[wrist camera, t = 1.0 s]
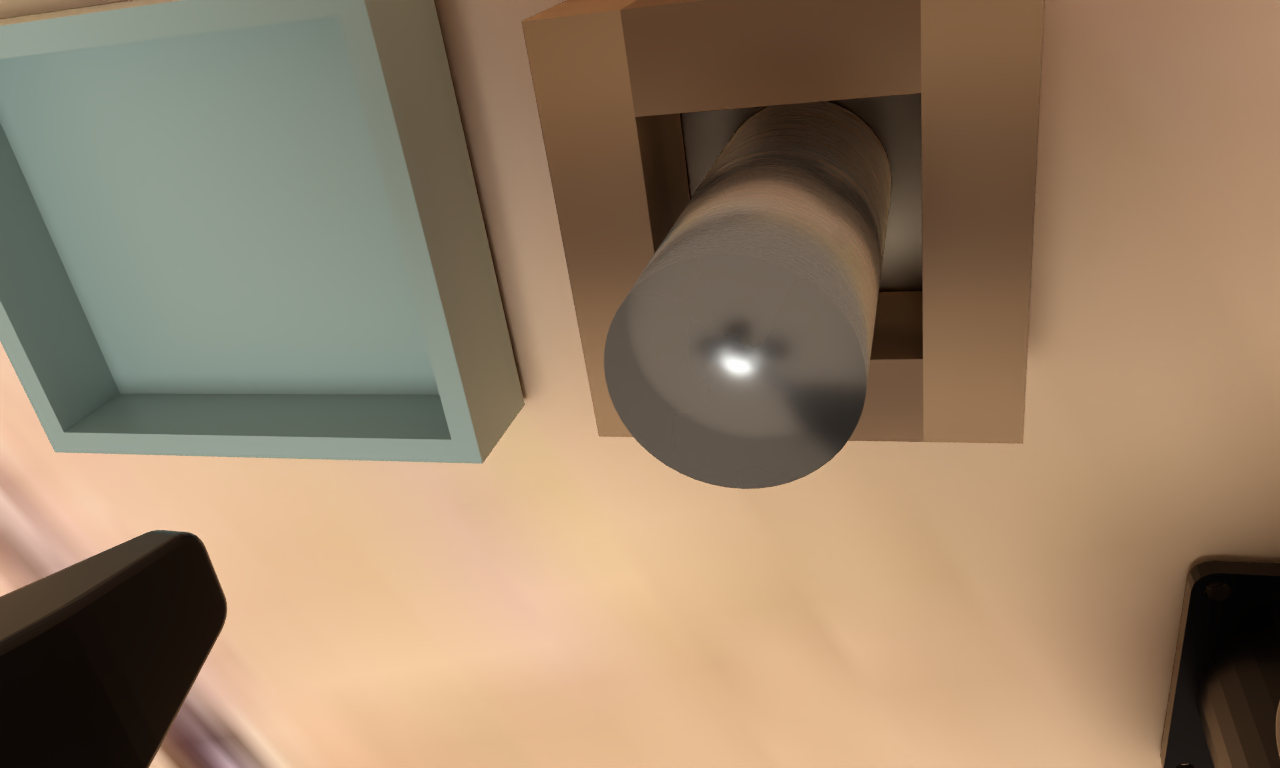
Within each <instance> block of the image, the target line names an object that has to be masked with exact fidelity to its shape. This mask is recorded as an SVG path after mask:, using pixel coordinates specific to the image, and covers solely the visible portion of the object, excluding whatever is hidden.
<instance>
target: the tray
mask: <svg viewBox="0 0 1280 768" xmlns="http://www.w3.org/2000/svg"><path fill="white" fill-rule="evenodd" d="M0 341H1V343H2V345H3V347H4V349H5V351H6V353H7V355H8V358H9V360H10V362H11V364H12V366H13V368H14V370H15V372H16V374H17V376H18V378H19V380H20V382H21V384H22V386H23V388H24V390H25V392H26V394H27V396H28V398H29V400H30V402H31V404H32V406H33V408H34V410H35V412H36V414H37V416H38V418H39V420H40V422H41V425H42V427H43V429H44V431H45V433H46V435H47V437H48V439H49V441H50V443H51V445H52V447H53V449H54V451H55V452H66V453H104V454H142V455H180V456H218V457H256V458H294V459H332V460H370V461H408V462H446V463H483V462H484V461H485V459H486V458H487V456H488V455H489V454H490V452H491V451H492V449H493V448H494V447H495V445H496V444H497V442H498V441H499V440H500V438H501V437H502V435H503V434H504V433H505V431H506V430H507V428H508V427H509V426H510V424H511V423H512V421H513V420H514V419H515V417H516V416H517V414H518V413H519V412H520V410H521V409H522V407H523V406H524V405H525V404H524V400H523V395H522V391H521V386H520V382H519V377H518V373H517V368H516V364H515V360H514V355H513V351H512V346H511V342H510V337H509V333H508V328H507V324H506V319H505V315H504V310H503V306H502V301H501V297H500V293H499V288H498V284H497V279H496V275H495V270H494V266H493V261H492V257H491V252H490V248H489V243H488V239H487V234H486V230H485V226H484V221H483V217H482V212H481V208H480V203H479V199H478V194H477V190H476V185H475V181H474V176H473V172H472V167H471V163H470V159H469V154H468V150H467V145H466V141H465V136H464V132H463V127H462V123H461V118H460V114H459V109H458V105H457V100H456V96H455V92H454V87H453V83H452V78H451V74H450V69H449V65H448V60H447V56H446V51H445V47H444V42H443V38H442V33H441V29H440V25H439V20H438V16H437V11H436V7H435V2H434V0H132V1H125V2H118V3H111V4H104V5H97V6H90V7H83V8H76V9H69V10H62V11H55V12H48V13H41V14H34V15H27V16H20V17H13V18H6V19H0Z"/></svg>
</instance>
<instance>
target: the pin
mask: <svg viewBox="0 0 1280 768" xmlns="http://www.w3.org/2000/svg"><path fill="white" fill-rule="evenodd" d="M891 182H892V181H891V170H890V166H889V161H888V158H887V155H886V153H885V150H884V148H883V146H882V144H881V142H880V141H879V139H878V137H877V136H876V135H875V133H874V132H873V131H872V129H871V128H870V127H869V126H868V125H867V124H866V123H865V122H864V121H863V120H861V119H860V118H859V117H858V116H856V115H855V114H854V113H852V112H850V111H848V110H846V109H845V108H843V107H840V106H838V105H835V104H833V103H829V102H825V101H820V102H808V103H796V104H784V105H772V106H769V107H767V108H765V109H763V110H761V111H759V112H758V113H756V114H754V115H753V116H752V117H750V118H749V119H748V120H747V121H746V122H744V123H743V124H742V126H741V127H740V128H739V129H738V130H737V131H736V132H735V134H734V135H733V136H732V138H731V139H730V141H729V142H728V144H727V145H726V147H725V148H724V150H723V151H722V153H721V154H720V156H719V157H718V159H717V160H716V162H715V163H714V165H713V166H712V168H711V169H710V171H709V172H708V174H707V175H706V177H705V178H704V180H703V181H702V183H701V184H700V186H699V187H698V189H697V191H696V192H695V194H694V195H693V197H692V198H691V200H690V201H689V203H688V204H687V206H686V207H685V209H684V210H683V212H682V213H681V215H680V216H679V218H678V219H677V221H676V222H675V224H674V225H673V227H672V228H671V230H670V231H669V233H668V234H667V236H666V237H665V239H664V240H663V242H662V243H661V245H660V246H659V248H658V249H657V251H656V252H655V254H654V255H653V257H652V258H651V260H650V261H649V263H648V264H647V266H646V267H645V269H644V270H643V272H642V273H641V275H640V276H639V278H638V279H637V281H636V282H635V284H634V286H633V287H632V289H631V290H630V292H629V293H628V295H627V296H626V298H625V299H624V301H623V302H622V304H621V305H620V307H619V308H618V310H617V312H616V314H615V316H614V318H613V320H612V322H611V325H610V328H609V331H608V334H607V338H606V343H605V349H604V371H605V379H606V384H607V388H608V392H609V395H610V397H611V400H612V403H613V405H614V408H615V409H616V411H617V413H618V415H619V417H620V419H621V420H622V422H623V423H624V425H625V426H626V428H627V429H628V430H629V432H630V433H631V434H632V436H633V437H634V438H635V439H636V440H637V441H638V442H639V443H640V444H641V446H643V447H644V448H645V449H646V450H647V451H648V452H649V453H651V454H652V455H653V456H654V457H655V458H657V459H658V460H660V461H661V462H663V463H664V464H665V465H667V466H669V467H671V468H672V469H674V470H676V471H678V472H679V473H682V474H684V475H686V476H689V477H691V478H693V479H696V480H699V481H702V482H705V483H709V484H713V485H718V486H723V487H729V488H741V489H750V488H765V487H772V486H777V485H781V484H785V483H789V482H792V481H794V480H797V479H799V478H802V477H804V476H806V475H808V474H810V473H812V472H814V471H815V470H817V469H819V468H820V467H822V466H823V465H824V464H826V463H827V462H828V461H830V460H831V459H832V458H833V457H834V456H835V455H836V454H837V453H838V452H839V451H840V450H841V449H842V448H843V446H844V445H845V444H846V442H847V441H848V440H849V439H850V437H851V435H852V434H853V432H854V430H855V428H856V426H857V424H858V422H859V419H860V416H861V414H862V411H863V407H864V402H865V397H866V390H867V382H868V374H869V366H870V358H871V350H872V341H873V333H874V325H875V317H876V309H877V301H878V293H879V285H880V277H881V269H882V261H883V253H884V245H885V237H886V229H887V221H888V213H889V205H890V197H891Z"/></svg>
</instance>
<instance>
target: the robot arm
mask: <svg viewBox="0 0 1280 768" xmlns="http://www.w3.org/2000/svg"><path fill="white" fill-rule="evenodd" d="M1216 582H1221V583H1225V584H1224V585H1223V586H1221V587H1219V588H1214V589H1210V588H1206V586H1208V585H1209V584H1211V583H1216ZM226 615H227V602H226V598H225V595H224V593H223V590H222V588H221V585H220V583H219V580H218V578H217V575H216V573H215V570H214V568H213V565H212V563H211V560H210V558H209V555H208V552H207V550H206V547H205V546H204V544H203V542H202V541H201V540H200V539H199V538H198V537H197V536H196V535H194V534H191V533H188V532H178V531H166V530H156V531H151V532H148V533H145V534H143V535H140V536H138V537H136V538H134V539H131V540H129V541H127V542H124V543H122V544H120V545H118V546H115V547H113V548H111V549H109V550H106V551H104V552H102V553H99V554H97V555H95V556H93V557H90V558H88V559H86V560H83V561H81V562H79V563H77V564H74V565H72V566H70V567H67V568H65V569H63V570H61V571H58V572H56V573H54V574H51V575H49V576H47V577H45V578H42V579H40V580H38V581H35V582H33V583H31V584H29V585H26V586H24V587H22V588H19V589H17V590H15V591H13V592H10V593H8V594H6V595H3V596H1V597H0V768H149V766H150V764H151V762H152V761H153V759H154V757H155V755H156V753H157V752H158V750H159V748H160V746H161V744H162V742H163V740H164V739H165V737H166V735H167V733H168V731H169V729H170V727H171V725H172V723H173V721H174V720H175V718H176V716H177V714H178V712H179V710H180V708H181V706H182V704H183V702H184V701H185V699H186V697H187V695H188V693H189V691H190V689H191V687H192V685H193V683H194V682H195V680H196V678H197V676H198V674H199V672H200V670H201V668H202V666H203V664H204V663H205V661H206V659H207V657H208V655H209V653H210V651H211V649H212V647H213V646H214V644H215V642H216V640H217V638H218V636H219V634H220V632H221V630H222V628H223V626H224V623H225V620H226ZM1160 757H1161V762H1162V767H1163V768H1280V564H1268V563H1246V562H1225V561H1211V562H1205V563H1202V564H1199V565H1197V566H1196V567H1194V568H1193V569H1192V570H1191V571H1190V573H1189V575H1188V577H1187V582H1186V589H1185V595H1184V602H1183V608H1182V615H1181V622H1180V628H1179V635H1178V641H1177V648H1176V655H1175V661H1174V668H1173V674H1172V681H1171V688H1170V694H1169V701H1168V707H1167V714H1166V721H1165V727H1164V734H1163V740H1162V747H1161V754H1160ZM1181 764H1189V765H1181Z"/></svg>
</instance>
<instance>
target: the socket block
mask: <svg viewBox="0 0 1280 768" xmlns="http://www.w3.org/2000/svg"><path fill="white" fill-rule="evenodd" d="M1043 21H1044V0H567V1H565V2H562V3H560V4H558V5H556V6H554V7H552V8H549V9H547V10H545V11H543V12H541V13H539V14H537V15H534V16H532V17H530V18H528V19H526V20H524V21H522V26H523V31H524V37H525V42H526V47H527V53H528V58H529V64H530V69H531V74H532V80H533V85H534V90H535V96H536V101H537V106H538V112H539V117H540V123H541V128H542V133H543V139H544V144H545V149H546V155H547V160H548V165H549V171H550V176H551V181H552V187H553V192H554V198H555V203H556V208H557V214H558V219H559V224H560V230H561V235H562V240H563V246H564V251H565V257H566V262H567V267H568V273H569V278H570V283H571V289H572V294H573V299H574V305H575V310H576V316H577V321H578V326H579V332H580V337H581V342H582V348H583V353H584V358H585V364H586V369H587V374H588V380H589V385H590V391H591V396H592V401H593V407H594V412H595V417H596V423H597V428H598V433H599V436H609V437H633V436H632V434H631V433H630V432H629V430H628V429H627V428H626V426H625V425H624V423H623V422H622V420H621V419H620V417H619V415H618V413H617V411H616V409H615V408H614V405H613V403H612V400H611V397H610V395H609V392H608V388H607V384H606V379H605V371H604V349H605V343H606V338H607V334H608V331H609V328H610V325H611V322H612V320H613V318H614V316H615V314H616V312H617V310H618V308H619V307H620V305H621V304H622V302H623V301H624V299H625V298H626V296H627V295H628V293H629V292H630V290H631V289H632V287H633V286H634V284H635V282H636V281H637V279H638V278H639V276H640V275H641V273H642V272H643V270H644V269H645V267H646V266H647V264H648V263H649V261H650V260H651V258H652V257H653V255H654V254H655V252H656V251H657V249H658V248H659V246H660V245H661V243H662V242H663V240H664V239H665V237H666V236H667V234H668V233H669V231H670V230H671V228H672V227H673V225H674V224H675V222H676V221H677V219H678V218H679V216H680V215H681V213H682V212H683V210H684V209H685V207H686V206H687V204H688V203H689V201H690V195H689V187H688V179H687V170H686V162H685V154H684V145H683V137H682V129H681V120H680V113H688V112H700V111H712V110H724V109H736V108H748V107H760V106H772V105H784V104H796V103H808V102H820V101H832V100H844V99H856V98H868V97H880V96H892V95H903V94H915V93H921V128H922V280H923V291H904V292H879V293H878V301H877V309H876V317H875V325H874V333H873V341H872V350H871V358H870V366H869V374H868V382H867V390H866V397H865V402H864V407H863V411H862V414H861V416H860V419H859V422H858V424H857V426H856V428H855V430H854V432H853V434H852V435H851V437H850V439H849V440H848V441H908V442H968V443H1023V432H1024V411H1025V391H1026V370H1027V349H1028V329H1029V308H1030V288H1031V267H1032V247H1033V226H1034V206H1035V185H1036V165H1037V144H1038V124H1039V103H1040V83H1041V62H1042V42H1043Z"/></svg>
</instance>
